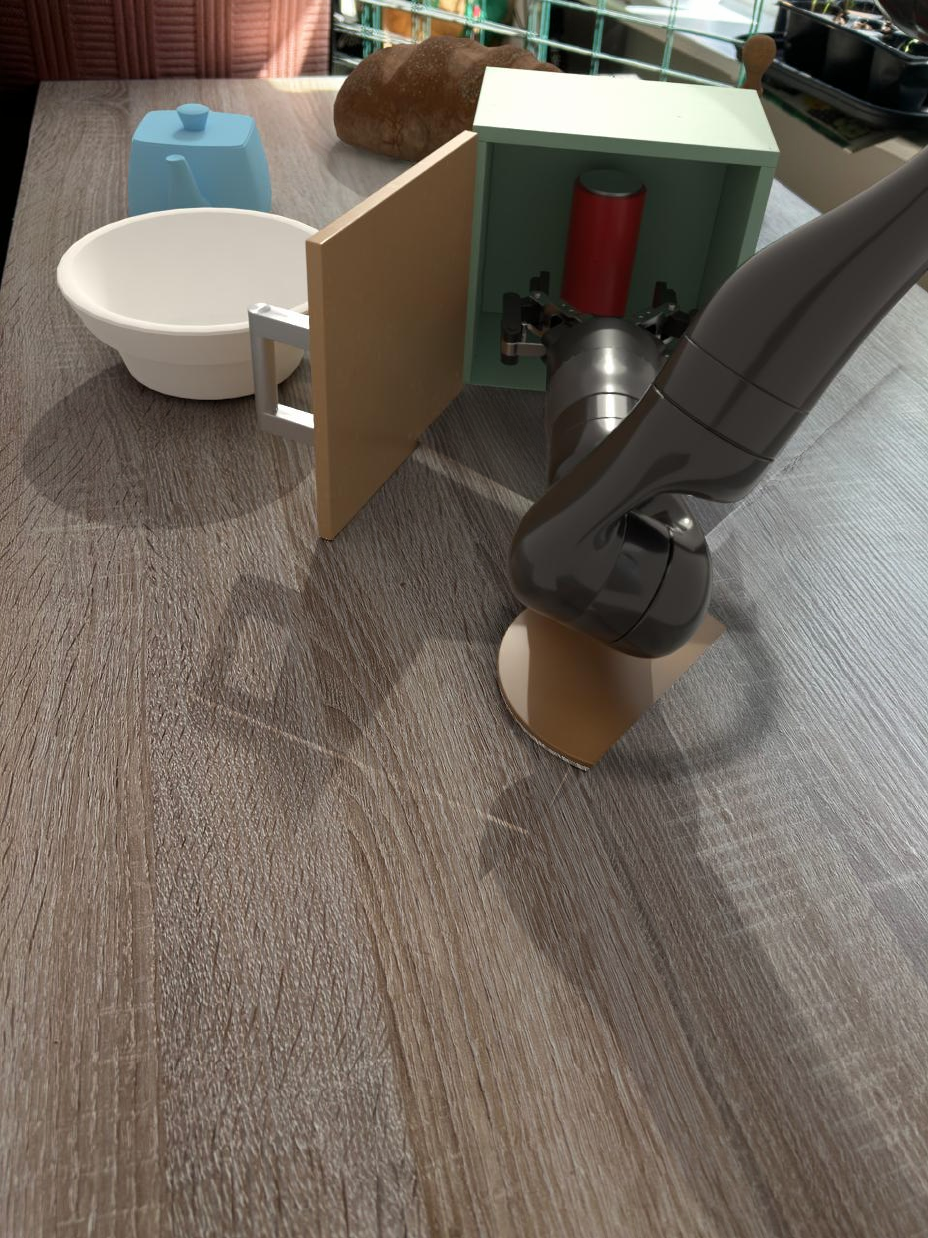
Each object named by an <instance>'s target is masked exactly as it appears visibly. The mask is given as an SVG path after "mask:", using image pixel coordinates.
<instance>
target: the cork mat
mask: <svg viewBox="0 0 928 1238" xmlns="http://www.w3.org/2000/svg"><path fill="white" fill-rule="evenodd" d="M727 629H728V627H727V626H726V625H725V624H724V623H722V622H721V621H720V620H718V619H717V618H716V617H714V616H713V615H712V614H710V613H708V612H707V614H706V616H705V619H704V621H703V623H702V625H701V626H700V628H699V629H698V631H697V632H696V634H695V635H694V636H693V637H692V638H691V640H690V641H689V642H688V643H687V644H685V645H684V646H683V647H682V648H680V649H679V650H677V651H675V652H674V653H672V654H670V655H667V656H664V657H660V658H656V659H641V658H636V657H632V656H629V655H626V654H623V653H621V652H619V651H617V650H614V649H612V648H610V647H608V646H606V645H604V644H602V643H601V642H598V641H596V640H594V639H592V638H590V637H587V636H585V635H583V634H581V633H579V632H577V631H575V630H573V629H570V628H568V627H566V626H564V625H562V624H560V623H558V622H555V621H553V620H551V619H549V618H547V617H545V616H543V615H541V614H539V613H537V612H535V611H533V610H531V609H529V608H528V607H526V608H525V609H524V610H522V611H521V612H520V613H519V614H518V615H517V616H516V617H515V618H514V619H513V620H512V622H511V623H510V625H509V626H508V627H507V629H506V631H505V633H504V634H503V637H501V638H502V639H501V642H500V645H499V648H498V654H497V661H496V677H497V676H498V681H499V685H500V689H501V692H502V694H503V697H504V699H505V701H506V704H507V705H508V707H509V708H510V710H511V712H512V713H513V715H514V716H515V717H516V719H517V720H518V721H519V722H520V723H521V725H522V726H523V727H524V728H525V729H526V730H527V731H528V732H529V733H530V734H531V735H532V736H534V737H535V738H536V739H537V740H538V741H540V742H541V743H542V744H544V745H545V746H546V747H548V748H549V749H551V750H552V751H554V752H556V753H558V754H559V755H561V756H563V757H565V758H566V759H569V760H571V761H573V762H575V763H578V764H580V765H582V766H585V767H588V768H590V769H591V768H592V767H594V766H595V764H596V763H597V762H598V761H599V760H601V758H602V757H603V756H604V755H605V754H606V753H607V752H608V751H609V750H610V749H611V748H612V747H613V746H614V745H615V744H616V743H617V742H618V741H619V740H620V739H621V738H622V737H623V736H624V735H625V734H626V733H627V732H628V731H629V730H630V729H631V728H632V726H633V725H635V723H637V721H638V720H639V719H641V717H643V715H645V713H647V711H648V710H649V709H650V708H651V707H652V706H653V705H654V704H655V703H657V701H658V700H659V699H660V698H661V697H662V696H663V695H664V694H665V693H666V692H667V691H668V690H669V689H670V688H671V687H672V685H674V683H676V682H677V681H678V679H680V678H681V676H683V674H685V673H686V671H688V670H689V668H690V667H691V666H692V665H693V664H694V663H695V662H696V661H697V660H698V659H699V658H700V657H701V656H702V655H703V654H704V653H705V652H706V651H707V650H708V649H710V647H711V646H712V645H713V644H714V643H715V642H716V641H717V640H718V639H719V637H721V636H722V635H723V633H725V632H726V631H727ZM497 674H498V675H497Z"/></svg>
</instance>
